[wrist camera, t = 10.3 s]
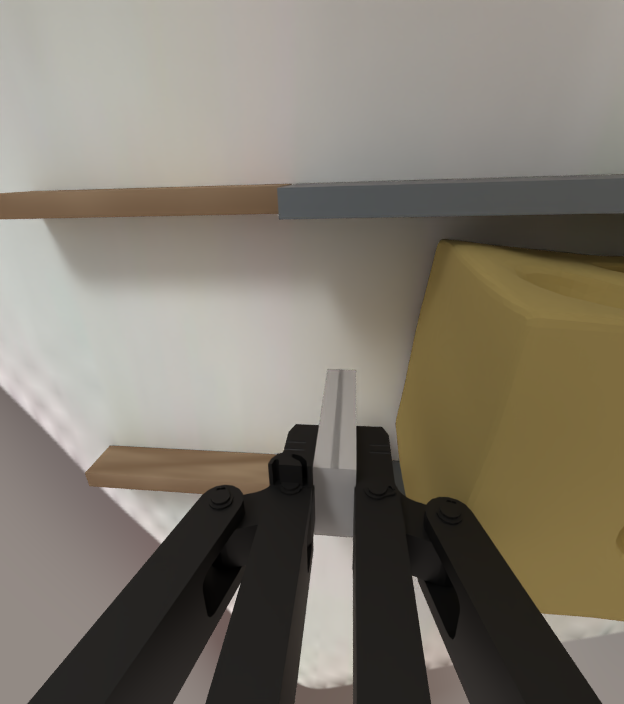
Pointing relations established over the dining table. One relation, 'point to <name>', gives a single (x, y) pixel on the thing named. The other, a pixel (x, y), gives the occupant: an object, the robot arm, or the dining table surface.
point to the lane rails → (139, 462)
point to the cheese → (525, 414)
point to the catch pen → (453, 202)
